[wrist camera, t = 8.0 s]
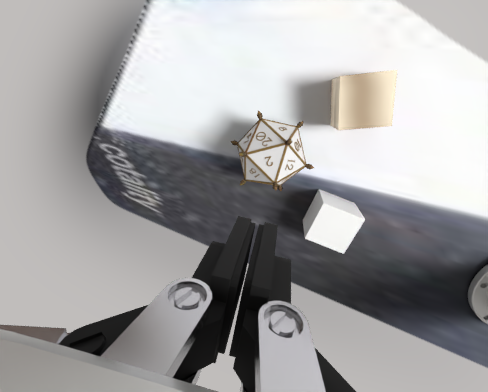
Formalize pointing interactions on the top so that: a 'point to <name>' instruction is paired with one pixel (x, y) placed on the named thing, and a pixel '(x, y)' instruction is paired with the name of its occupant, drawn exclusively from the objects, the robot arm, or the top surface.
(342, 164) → the top surface
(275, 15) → the top surface
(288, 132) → the game die
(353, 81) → the ash block
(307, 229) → the white block
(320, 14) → the top surface
